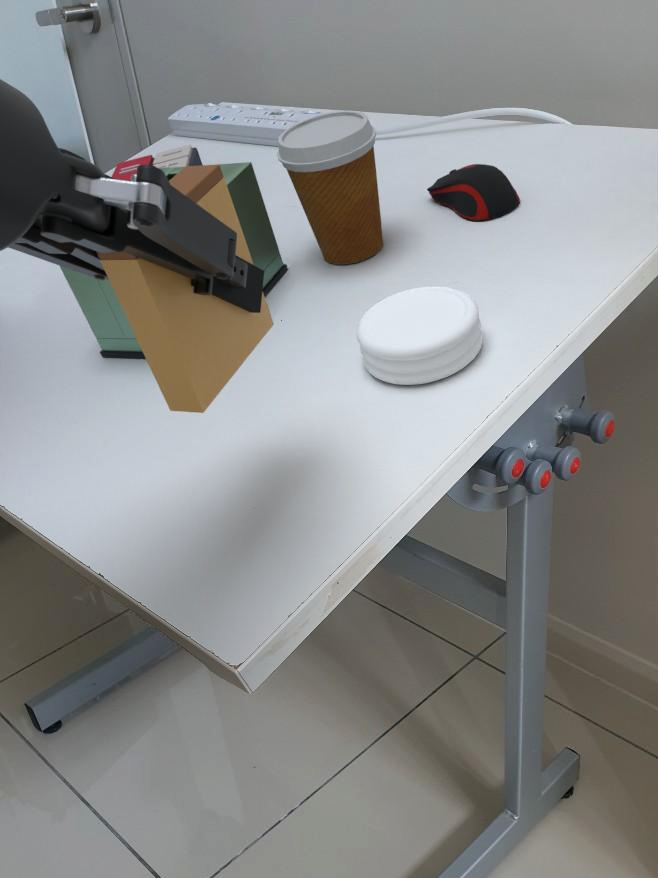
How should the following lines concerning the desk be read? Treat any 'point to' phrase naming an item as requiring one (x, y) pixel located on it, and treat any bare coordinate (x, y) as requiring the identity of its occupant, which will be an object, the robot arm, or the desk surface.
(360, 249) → the disposable coffee cup
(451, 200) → the computer mouse
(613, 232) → the desk surface
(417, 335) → the white round container
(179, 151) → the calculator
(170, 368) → the toast
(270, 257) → the toaster
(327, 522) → the desk surface
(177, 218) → the robot arm
